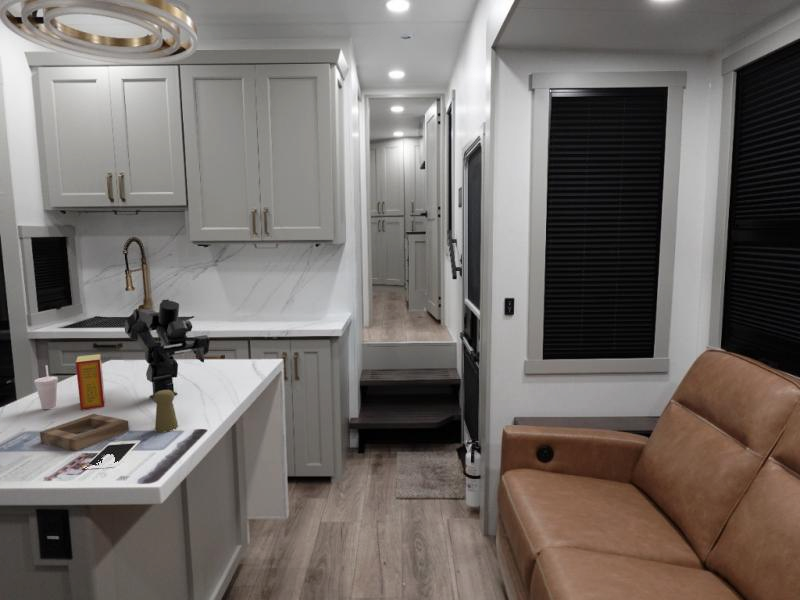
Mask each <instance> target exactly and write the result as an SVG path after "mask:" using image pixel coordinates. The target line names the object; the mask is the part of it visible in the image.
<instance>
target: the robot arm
mask: <svg viewBox="0 0 800 600" xmlns="http://www.w3.org/2000/svg"><path fill="white" fill-rule="evenodd" d="M179 310H180V303H178V302H176V301H173V300H169V298H168V299H162V300H161V302H160V303H159V308H158V312H157V311H154V310H153V309H150V308H149V307H141V308H140V307H139V308H135V309H133V312H132V314H131V315H130V316H128V317H127V318H126V319H125V321H124V332H125V334H126V335H127V336H128V337H129V339H130V340H134V341H137V342H138V343H139V345H140V347H141V349H142V351H143V352H144V353H145V354H144V355H145V356H144V358H145V361H146V362H147V364H148V367H147V369H146V374H145V375H146V380H147V381H148V382H150V383H152V384H151V386H152V395H149V398H151V399H154V395H155V393H156V392H158V391H161V390H171V391H172V392H173V393H174V396H176V395H178V392H176V391H175V388H174V382H173V380H174V379H173V378H178V371H179V370H178V369H179V363H178V362H177V360H176V359H175V358H174V355H180V354H184V353H187V352H191V351H192V352H193V353H194V354H195V357H196V359H198V360H199V362H201V363H205V355H206V354H208V353H209V349H210V342H211V341H210V340H211V339H210V338H209V336H208V335H207V334H205V335H204V334H203V335H198V336H194V338H193V342H190V343H187V342H186V341H188V336H187V333H188V332H192V331H193V324H192V322H191V321H190V320H189V319H188V320H179ZM152 331H155V333H156V334H157V341H158V342H157V341H156V340H155V338H154V336H153V335H152ZM161 342H162V343H161Z"/></svg>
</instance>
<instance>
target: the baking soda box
mask: <svg viewBox="0 0 800 600" xmlns="http://www.w3.org/2000/svg"><path fill="white" fill-rule="evenodd" d="M75 368H76V378H77V379H76V380H77V387H78V389H77V390H78V396H79V397H78V398H79V407H80V411H83V410H82V409H86V410H92V409H98V407H99V408H105V402H106V397H105V388H104V387H105V386H104V378H103V365H102V356H101V353H98V354H89V355H78V356H77V358H76V360H75ZM91 408H92V409H91Z"/></svg>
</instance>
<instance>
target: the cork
mask: <svg viewBox="0 0 800 600" xmlns="http://www.w3.org/2000/svg"><path fill="white" fill-rule="evenodd" d="M174 399H175V395H174V393H173V392H172V391H171V390H161V391H158V392H156V393H155V395H154V398H153V400H154V402H155V404H156V407H155V408H156V409H155V423H154V424H155V425H154V431H155V430H156V431H159V432H158V433H165V432H164V431H169V432H171V431H170V430H172V431H174V430H173V429H175V430H176V428H177V427H178V428H179V425H178V420H177V416H176V411H175V406H174V403H173V401H174ZM178 428H177V429H178ZM156 431H155V432H156Z"/></svg>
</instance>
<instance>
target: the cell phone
mask: <svg viewBox="0 0 800 600" xmlns="http://www.w3.org/2000/svg"><path fill="white" fill-rule="evenodd" d="M140 442H141V440H125V441H124V440H123V441H110V442H108V444H106V445H105V446H104V447H103V448H102V449H101V450H99V452H98V453H97V454H96V455H95V456H94V457H92V459H91V460H89V462H90V463H89V464H92V465H95V466H92V467H93V468H94V467H95V468H101V467H102V466H103V465H102V466H99V467H98V465H99V463H98V462H100V461H101V463H102V460H103V459H101V458H102V457H103V456H102V457H101V455H103V454H105V455H106V454H110V455H111V454H113V455H114V457H115V462H117V461H118V464H119V463H120V462H121V461H122V460H123V459H124V458H125V459H126V458H127V456H129V454H130V453H131V452H132V451H133V450H134V449H135V448H136V447H137V446H138V444H139V443H140ZM125 459H124V460H125ZM98 460H99V461H98ZM124 460H123V461H124ZM123 461H122V462H123ZM115 462H114V463H115ZM122 462H121V463H122ZM96 463H98V465H97V464H96ZM121 463H120V464H121ZM118 464H117V465H118ZM120 464H119V465H120ZM85 465H86V464H85ZM85 465H84V466H83V467H82V468H85V467H87V466H88V465H86V466H85ZM119 465H118V466H119ZM89 467H91V466H89ZM89 467H87V468H89ZM87 468H85V469H87Z"/></svg>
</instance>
